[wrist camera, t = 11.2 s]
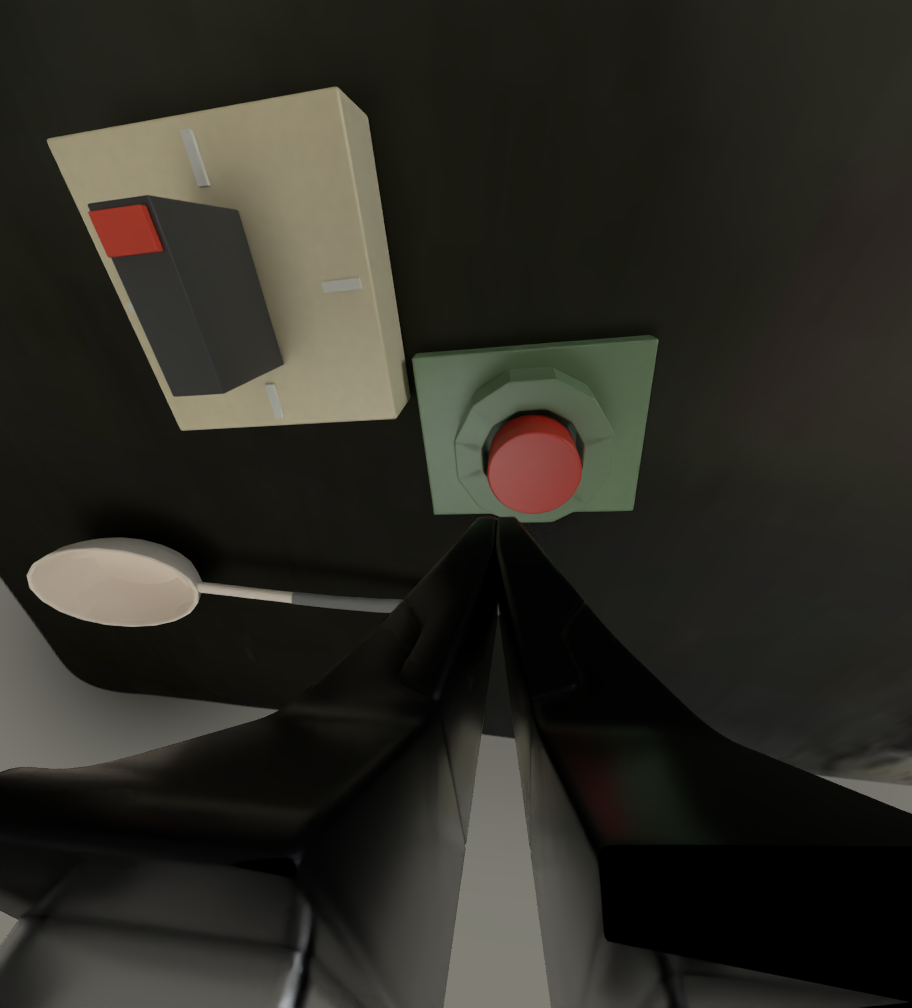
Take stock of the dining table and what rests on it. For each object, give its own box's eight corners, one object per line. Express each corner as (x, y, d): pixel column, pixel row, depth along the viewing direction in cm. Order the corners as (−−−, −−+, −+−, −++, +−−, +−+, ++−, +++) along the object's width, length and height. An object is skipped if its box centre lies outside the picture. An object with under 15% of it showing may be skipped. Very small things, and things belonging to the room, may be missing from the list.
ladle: (50, 515, 25) (-26, 564, 21) (505, 526, 27) (519, 573, 23) (88, 591, 28) (29, 647, 24) (495, 595, 30) (505, 647, 26)
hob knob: (284, 364, 16) (219, 396, 12) (242, 367, 16) (167, 399, 13) (238, 209, 14) (140, 192, 10) (190, 215, 14) (77, 202, 10)
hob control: (220, 409, 21) (177, 432, 18) (119, 156, 16) (38, 136, 13) (411, 397, 19) (395, 420, 17) (368, 115, 14) (335, 82, 12)
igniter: (436, 505, 22) (427, 537, 20) (415, 353, 18) (400, 369, 16) (628, 500, 21) (644, 535, 18) (651, 334, 17) (677, 348, 14)
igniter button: (491, 492, 19) (489, 515, 17) (486, 415, 17) (484, 433, 15) (573, 490, 18) (579, 513, 16) (577, 411, 16) (585, 428, 15)
